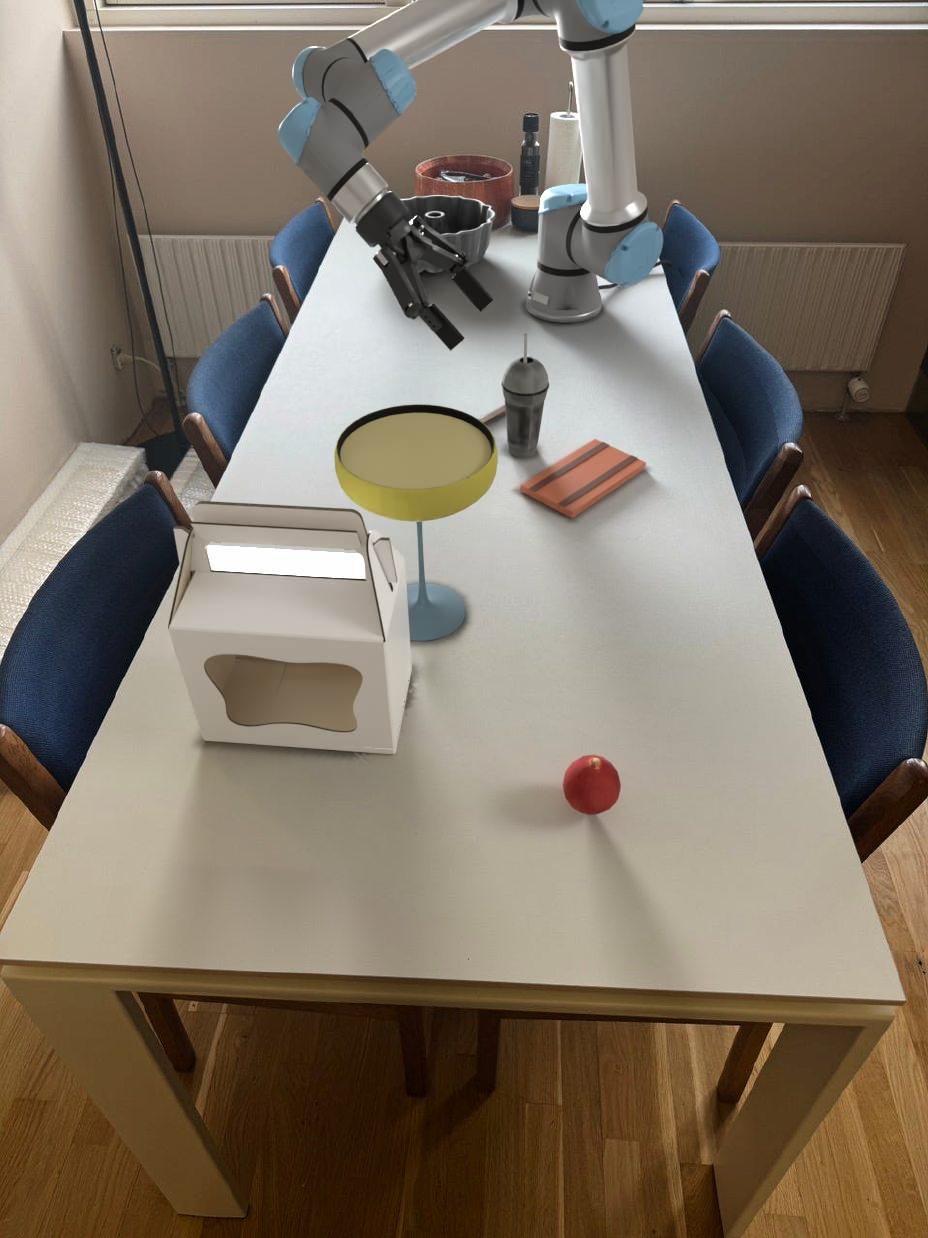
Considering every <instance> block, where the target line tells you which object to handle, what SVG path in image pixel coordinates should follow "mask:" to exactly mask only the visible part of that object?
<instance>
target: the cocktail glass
mask: <svg viewBox="0 0 928 1238" xmlns="http://www.w3.org/2000/svg"><path fill="white" fill-rule="evenodd" d="M478 419H479V418H477V417H475V416H473V415H472V414H469V413H467V412H466V411H463V410H459V409H456V408H453V407H448V406H443V405H436V404H422V403H421V404H419V403H418V404H402V405H396V406H395V405H394V406H389V407H385V408H381V409H379V410H375V411H371V412H369V413H367V414H365V415H363V416H360V417H359V418H358V419H356V420H354V421H353V422H352V423H349V425H348V426H347V427H345V429H343V431H342V432H341V433H340V434H339V437H338V438H337V440H336V444H335V448H334V459H333V460H334V470H335V474H336V478H337V480H338V483H339V486H340V488H341V490H342V491H343V492H344V493H345V495H346V496H347V497H348V499H350V500H351V501H352V502H353V503H354V504H355V505H357V506H359V507H361V508H362V509H364V510H366V511H368V512H371V513H372V514H374V515H377V516H380V517H383V518H387V519H391V520H395V521H401V522H416V534H417V535H416V536H417V554H418V555H417V556H418V558H417V559H418V560H417V561H418V583H415V584H410V585H407V600H408V616H409V632H410V641H415V642H430V641H436V640H438V639H442V638H445V637H448V636H449V635H450V634H453V633H454V632H455V631H457V630H458V628H459V627H461V625H462V623H463V622H464V620H465V617H466V605H465V602H464V601H463V599H462V597H460V595H459V594H458V593H457V592H455V591H453V589H451V588H448V587H446V586H443V585H440V584H437V583H427V582H426V575H425V559H424V539H423V538H424V537H423V522H428V521H434V520H439V519H445V518H447V517H450V516H453V515H456V514H457V513H460V512H462V511H464V510H466V509H468V508H469V507H471V506H472V505H474V504H475V503H477V502H478V501H480V499H481V498H483V496H486V494H487V492H488V491H489V489H491V487H492V485H493V483H494V480H495V478H496V475H497V471H498V470H497V469H498V461H499V460H498V459H499V455H498V454H499V453H498V447H497V442H496V439H495V436H494V434H493V432H492V431H491V429H490V428H489V427H488V426H487V425H485V424H484V423H482V422H481V421H480V420H478Z"/></svg>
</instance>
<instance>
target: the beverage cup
mask: <svg viewBox="0 0 928 1238" xmlns="http://www.w3.org/2000/svg"><path fill="white" fill-rule="evenodd" d="M501 387H502V388H501V389H502V395H503V399H504V405H505V412H506V415H505V427H506V440H507V441H506V442H507V446H508V448H507V449H508V450H507V451H508V452H509V454H510V455H512V456H514V457H519V458H528V457H532V456H533V455H535V454H536V453H537V450H538V449H537V448H538V444H539V438H540V433H541V426H542V420H543V413H544V408H545V407H544V406H545V400H546V398H547V395H548V389H550V381H549V374H548V372H547V369H546V368H545V366H544V364H543V363H542V362H541V361H540V360H538V359H536V358H534V357H532V356H528V333H523V356H521V357H518V358H515V359H514V360H512V361H511V362H510V363H509V364H508V365H507V367H506V368H505V370H504V373H503V377H502V381H501Z"/></svg>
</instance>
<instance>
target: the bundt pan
mask: <svg viewBox="0 0 928 1238" xmlns="http://www.w3.org/2000/svg"><path fill="white" fill-rule="evenodd" d="M401 201H402V202H403V203H404V204H405V205H406V206H407V208H408V214H407V215H406V216H405V219H406V220H407V221H408V222H409V223H410V222H411V221H412V220H413V219H414V218H415V216H417V215H418V216H420V217H421V218H422V219H423V220H424V221H425V222H426V223H427V225H428V226H430V227H431V228H432V229H434V230H435V231H436V232H438V233H439V234H440V235H442V236H443V237H445V238H446V239H447V240H449V241H450V242H451V243H453V244H454V245H455V246H457V247H458V248H459V249H461V250H462V251H463V252H464V253H465V254H466V257H467V258H468V260H469V262H468V263H467V264H466V265H465V267H466V268H469V267H470V266H471V265H474V264H477V263H478V262H480V261H481V260H482V259H483V258H484V256H485V255H486V252H487V250H488V248H489V245H490V242H491V234H492V229H493V224H494V223H493V222H494V220H495V219H496V212H495V211H494V210H492V205H488V204H485V203H484V202H483V201H481V200H479V199H475V198H467V197H466V198H465V197H464V196H461V195H457V196H456V195H453V196H450V195H445V194H433V195H426V196H412V197H411V198H404V199H401ZM454 255H456V254H454ZM417 269H418V272H419V274H420V273H423V272H424V271H426V272H428V273H432V274H437V273H440V272H443V270H442V269H440V268H438V267H436V266H434V265H432V264H430V263H428V262H426V261H424V260H420V261H418V263H417Z"/></svg>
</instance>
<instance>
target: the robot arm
mask: <svg viewBox="0 0 928 1238" xmlns="http://www.w3.org/2000/svg"><path fill="white" fill-rule="evenodd" d="M645 2H647V0H414V1H411V3H408V4H407V5H405V6H403V7H401V8H400V9H398V10H395V11H393V12H392V13H390V14H388V15H387V16H384V17H383V18H381V19H379V20H377V21H376V22H373V23H372V24H370V25H368V26H366V27H364V28H363V29H361V30H359V31H357V32H355V33H354V34H352V35H350V36H348V37H346V38H344V39H342V40H340V41H338V42H336V43H333V44H332V45H330V46H328V47H325V46H321V45H320V46H319V45H318V46H308V47H306V48H305V49H303V50H301V51H300V53H299V54H298V55H297V57H296V59H295V60H294V63H293V67H292V81H293V84H294V88H295V91H296V92H297V93H298V95H299V96H300V97H301V99H303V100H301V102H299V103H297V104H296V105H295V106H294V107H293V108H292V110H291V111H290V112H289V113H288V114H287V115H286V116H285V118H284V119H283V120H282V122H281V123H280V124H279V127H278V129H277V140H278V142H279V144H280V145H281V147H282V148H283V149H284V150H285V152H286V153H287V154H288V155H289V157H290V158H291V159H292V160H293V162H294V163H295V166H297V167H299V168H300V170H302V172H303V173H304V174H305V175H306V176H307V177H308V178H309V179H310V181H312V183H313V184H314V185H315V186H316V188H317V189H319V191H320V192H321V193H322V194H323V195H324V196H325V197H326V198H327V199H328V201H329V202H330V203H331V204H332V205H333V206H334V208H336V210H337V212H338V213H339V214H341V215H342V217H343V218H344V219H345V221H347V223H349V224H351V225H354V223H355V227H354V228H355V232H356V233H357V234H358V235H359V236H360V237H361V239H362V240H363V241H364V242H365V243H366V244H367V245H368V247H369V248H372V249H373V248H375V247H377V246H379V247H380V249H379V250H378V251H377V252H376V253H375V254H374V255H373V257H372V260H373V261H374V263H375V264H376V266H377V267H378V268H379V269H380V270H381V272H382V273H383V276H384V278H385V280H386V281H387V283H388V286H389V287H390V289H391V291H392V293H393V295H394V296H395V299H396V301H397V303H398V304H399V306H400V308H401V310H402V312H403V314H404V316H405V317H406V318H407V319H411V320H413V321H414V320H416V319H417V318H418V317H419V318H420V319H421V320H422V321H423V322H424V323H425V325H427V327H428V328H429V330H431V331H432V332H433V333H434V334H435V335H436V336H437V338H438V339H439V340H440V341H441V342H442V343H443V344H444V345H445V346H446V347H447V349H448V350H449V351H452V350H454V349H455V348H456V347H457V346H458V345H459V344H460V343H462V342H463V341H464V339H465V336H464V335H463V334H462V333H461V331H460V330H459V329H458V328H457V327H456V326H455V325H454V324H453V322H452V321H451V320H450V319H449V318H448V317H447V316H446V315H445V313H443V311H442V310H441V309H440V308H439V306H438V305H437V304H436V303H435V302H432V303H431V304H430V301H429V299H428V296H427V293H426V289H425V287H424V284H423V281H422V279H421V275H420V273H419V272H418V269H417V263H418V261H420V260H424V261H426V262H428V263H430V264H432V265H434V266H436V267H438V268H440V269H442V271H444V272H445V273H448V274H450V275H452V278H451V280H452V282H454V284H455V285H456V286H457V288H458V289H459V290H460V291H461V292H462V293H463V294H464V296H465V297H466V298H467V299H468V300H469V301H470V303H472V305H473V306H474V307H475V308H476V309H477V311H478V312H479V313H481V312H483V310H485V309H486V308H487V307H488V306H489V305H491V304H492V303H493V302H494V299H493V296H491V295H490V293H488V291H487V290H486V289H485V288H484V287H483V285H482V284H481V283H480V282H479V281H478V280H477V278H476V277H475V276H474V275H473V273H472V272H471V271H470V270H469V269H468V267H465V265H466V264H467V263H468V262H469V260H468V258H467V257H466V254H465V253H464V252H463V251H462V250H461V249H459V248H458V247H457V246H455V245H454V244H453V243H451V242H450V241H449V240H447V239H446V238H445V237H443V236H442V235H440V234H439V233H438V232H436V231H435V230H434V229H432V228H431V227H430V226H428V225H427V223H426V222H425V221H424V220H423V219H422V218H421V217H420V216H418V215H417V216H415V218H414V219H413V220H412V221H411V222H410V223H409V222H408V221H407V220H406V219H405V216H406V215H407V214H408V208H407V206H406V205H405V204H404V203H403V202H402V201H401V200H402V199H401V198H400V197H399V196H398V195H397V193H396V192H395V191H392V190H390V191H389V190H388V188H389V184H388V183H387V181H386V180H385V179H384V178H383V177H382V176H381V174H380V173H379V172H378V171H377V170H376V169H375V167H374V166H373V165H372V164H371V163H370V162H369V160H368V159H367V158H366V157H365V156H364V155H363V152H364V151H365V150H366V149H367V148H368V147H369V146H370V145H371V144H372V143H373V142H374V141H375V140H376V139H377V138H378V137H379V136H380V135H382V133H383V132H384V131H386V130H387V129H388V128H389V127H390V126H391V125H392V124H393V123H394V122H395V121H396V120H397V119H398V118H399V117H402V115H403V112H404V111H405V110H406V109H407V108H408V107H409V106H410V104H412V102H413V101H414V100H415V99H416V96H417V83H416V80H415V78H414V77H413V74H412V72H411V70H412V69H414V68H417V67H418V66H419V65H421V64H424V63H425V62H427V61H428V60H431V59H433V58H434V57H437V56H438V55H440V54H441V53H443V52H445V51H447V50H448V49H450V48H452V47H454V46H456V45H457V44H459V43H461V42H463V41H465V40H466V39H468V38H470V37H472V36H474V35H475V34H477V33H479V32H481V31H482V30H485V29H486V28H488V27H490V26H492V25H493V24H496V23H499V24H500V25H508V24H510V23H512V22H514V21H516V20H519V19H520V18H525V17H532V16H533V17H534V16H543V17H547V18H550V19H554V20H555V21H556V27H557V35H558V36H557V37H558V42H559V43H558V44H559V47H560V49H561V50H562V51H564V52H565V53H566V54H568V55H569V56H570V59H571V66H572V75H573V84H574V93H575V100H576V111H577V117H578V125H579V127H578V128H579V134H580V142H581V143H580V145H581V152H582V160H583V161H582V162H583V168H584V169H583V170H584V176H585V177H584V178H585V183H569V184H568V183H567V184H561V185H560V184H559V185H555V186H552V187H549V188H548V189H545V191H543V193H542V195H541V196H540V200H539V201H540V203H539V209H538V213H537V214H538V221H537V222H538V223H537V226H538V228H537V248H536V249H537V252H536V253H537V254H536V268H535V272H534V274H533V276H532V280H531V283H530V285H529V288H528V291H527V292H526V297H525V309H526V311H527V312H528V313H529V314H530V315H532V316H534V317H535V318H537V319H539V320H542V321H546V322H550V323H551V322H552V323H558V324H572V323H580V322H584V321H588V320H591V319H593V318H595V317H596V316H597V315H599V314H600V312H601V310H602V295H601V292H600V290H601V291H602V290H608V289H613V288H616V287H617V286H621V287H631V286H635V285H636V284H639V283H641V281H643V280H644V279H646V277H647V276H648V275H650V273H651V272H652V270H653V269H655V268H657V267H659V266H661V265H667V266H668V267H670V268H671V267H672V268H673V267H674V264H673V263H672V262H671V261H669V260H667V259H662V260H659V258H660V256H661V254H662V251H663V245H664V235H663V231H662V229H661V227H659V226H658V224H657V223H656V222H654V221H650V219H649V209H648V201H647V200H648V199H647V197H646V195H645V194H644V193H642V192H641V191H639V190H638V180H637V166H636V165H637V164H636V152H635V151H636V150H635V139H634V127H633V126H634V125H633V112H632V96H631V86H630V85H631V84H630V71H629V58H628V57H629V56H628V45H627V44H628V42H629V41H630V40H631V38H632V37H633V35H634V34H635V32H636V22H637V21H638V20H639V19H640V17H641V15H642V13H643V12H644V9H645V7H644V5H643V4H644V3H645ZM454 254H456V255H454ZM598 277H599V278H602V279H603V280H605V281H606V282H608V283H610V284H601V285H599V282H598Z"/></svg>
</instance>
